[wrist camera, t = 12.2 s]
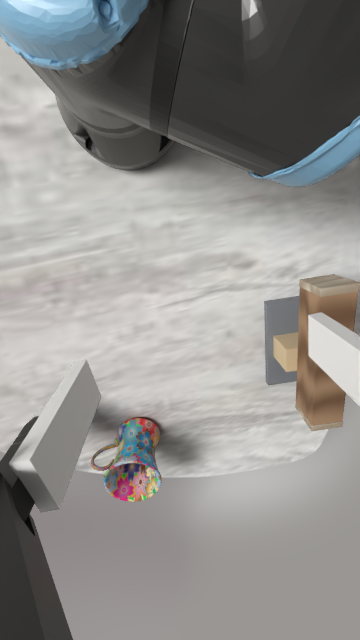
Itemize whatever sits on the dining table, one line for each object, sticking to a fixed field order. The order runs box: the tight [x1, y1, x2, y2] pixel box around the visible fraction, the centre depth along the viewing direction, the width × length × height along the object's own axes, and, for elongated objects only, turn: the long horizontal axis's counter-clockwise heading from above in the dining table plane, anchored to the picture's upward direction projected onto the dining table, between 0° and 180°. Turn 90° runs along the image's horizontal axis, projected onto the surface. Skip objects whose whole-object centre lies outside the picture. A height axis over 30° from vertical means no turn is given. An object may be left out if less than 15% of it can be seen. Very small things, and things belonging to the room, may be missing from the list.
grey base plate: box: [264, 296, 300, 385], centre depth 42 cm, size 16×10×6 cm, turn 8°
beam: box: [296, 274, 360, 431], centre depth 36 cm, size 22×5×5 cm, turn 8°
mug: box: [91, 418, 161, 502], centre depth 45 cm, size 12×9×11 cm
